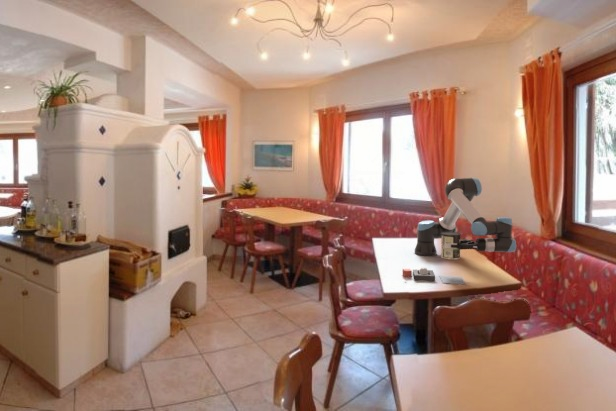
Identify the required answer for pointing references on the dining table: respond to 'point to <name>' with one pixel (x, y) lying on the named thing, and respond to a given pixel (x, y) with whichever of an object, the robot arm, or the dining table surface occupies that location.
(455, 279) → the square pad
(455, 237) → the coffee can
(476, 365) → the dining table surface
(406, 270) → the die
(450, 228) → the robot arm
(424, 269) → the dome
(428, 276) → the popper frame
